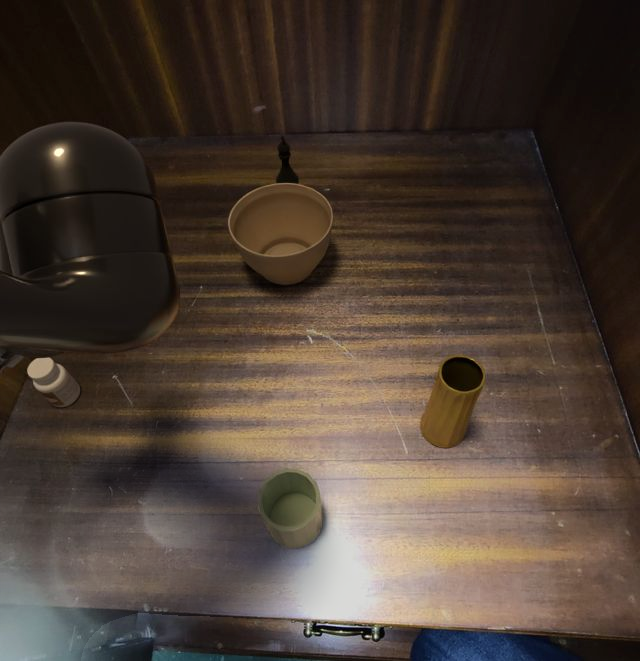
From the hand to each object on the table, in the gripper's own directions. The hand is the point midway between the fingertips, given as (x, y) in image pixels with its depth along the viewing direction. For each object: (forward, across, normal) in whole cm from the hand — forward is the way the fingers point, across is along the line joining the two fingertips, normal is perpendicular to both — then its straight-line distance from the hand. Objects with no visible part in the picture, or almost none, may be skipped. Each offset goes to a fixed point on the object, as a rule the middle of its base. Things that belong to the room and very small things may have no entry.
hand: (25, 330), depth 51 cm
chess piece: (+24, -56, +12) cm, 62 cm away
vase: (-9, -23, +45) cm, 51 cm away
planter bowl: (+16, -38, +20) cm, 45 cm away
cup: (-2, -3, +37) cm, 37 cm away
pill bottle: (+25, -1, +10) cm, 27 cm away
